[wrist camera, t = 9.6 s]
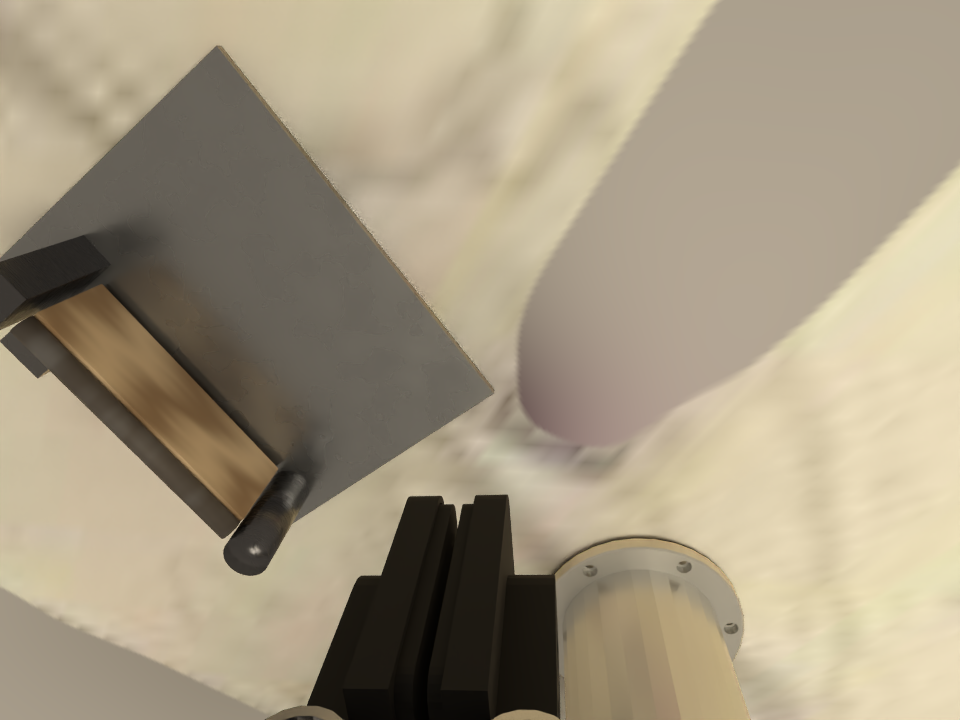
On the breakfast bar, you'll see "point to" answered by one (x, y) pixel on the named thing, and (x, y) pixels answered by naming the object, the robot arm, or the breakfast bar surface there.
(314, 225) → the gate frame
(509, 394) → the breakfast bar surface
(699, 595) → the robot arm
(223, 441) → the gate
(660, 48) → the breakfast bar surface
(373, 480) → the breakfast bar surface
